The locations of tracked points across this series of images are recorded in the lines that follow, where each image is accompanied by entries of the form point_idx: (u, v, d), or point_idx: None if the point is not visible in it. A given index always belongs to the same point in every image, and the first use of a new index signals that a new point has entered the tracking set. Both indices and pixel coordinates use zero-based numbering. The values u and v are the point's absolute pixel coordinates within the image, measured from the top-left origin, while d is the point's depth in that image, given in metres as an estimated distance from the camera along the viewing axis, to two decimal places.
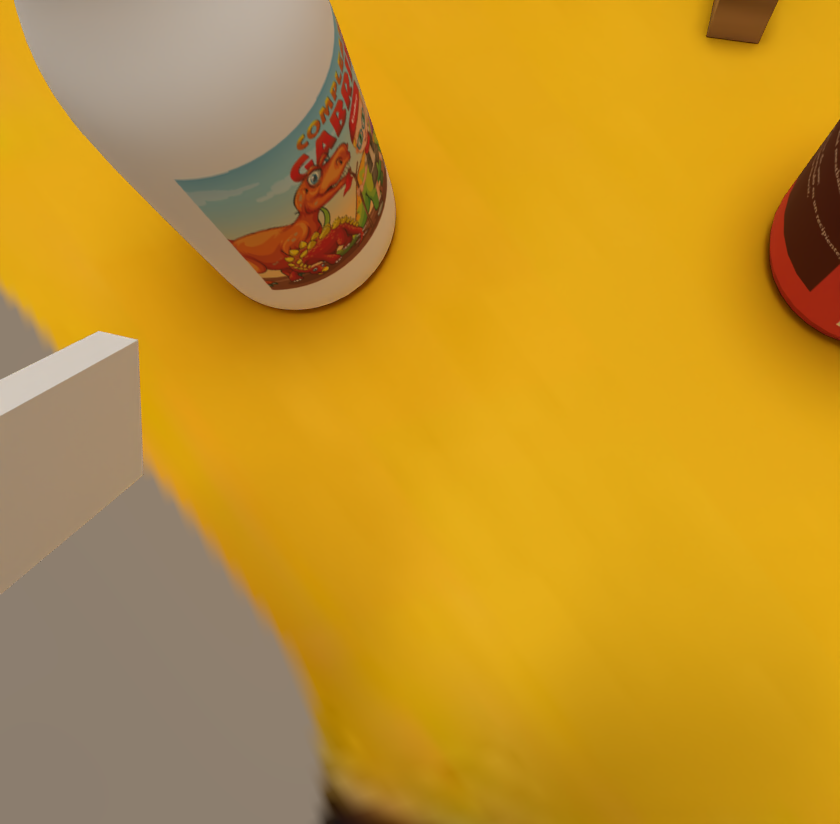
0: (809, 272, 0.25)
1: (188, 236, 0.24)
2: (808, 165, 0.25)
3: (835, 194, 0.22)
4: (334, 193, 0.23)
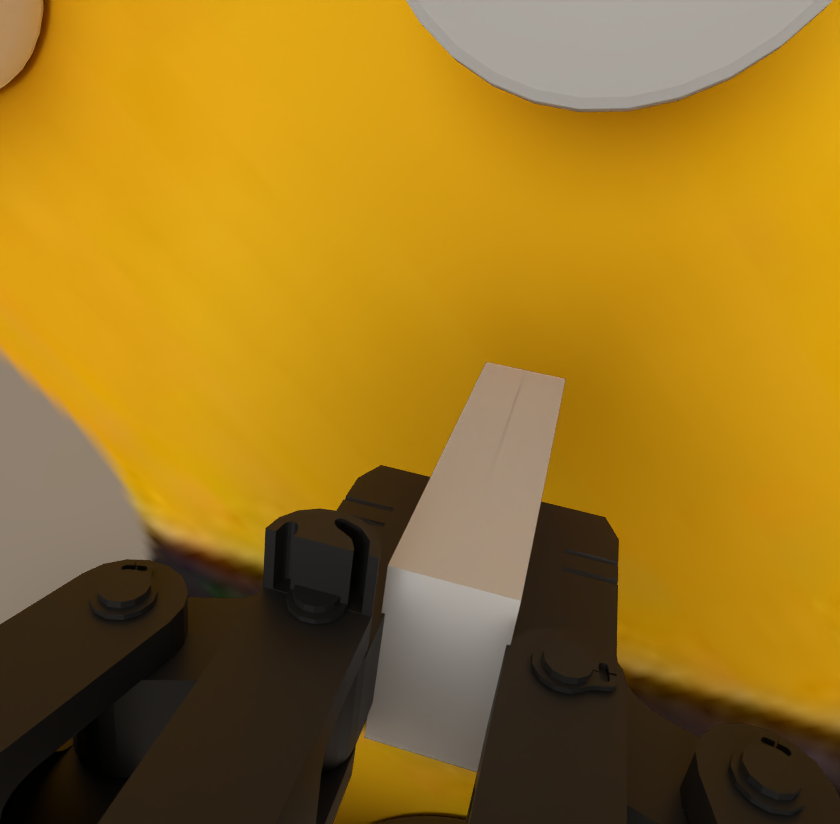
0: None
1: None
2: None
3: None
4: None
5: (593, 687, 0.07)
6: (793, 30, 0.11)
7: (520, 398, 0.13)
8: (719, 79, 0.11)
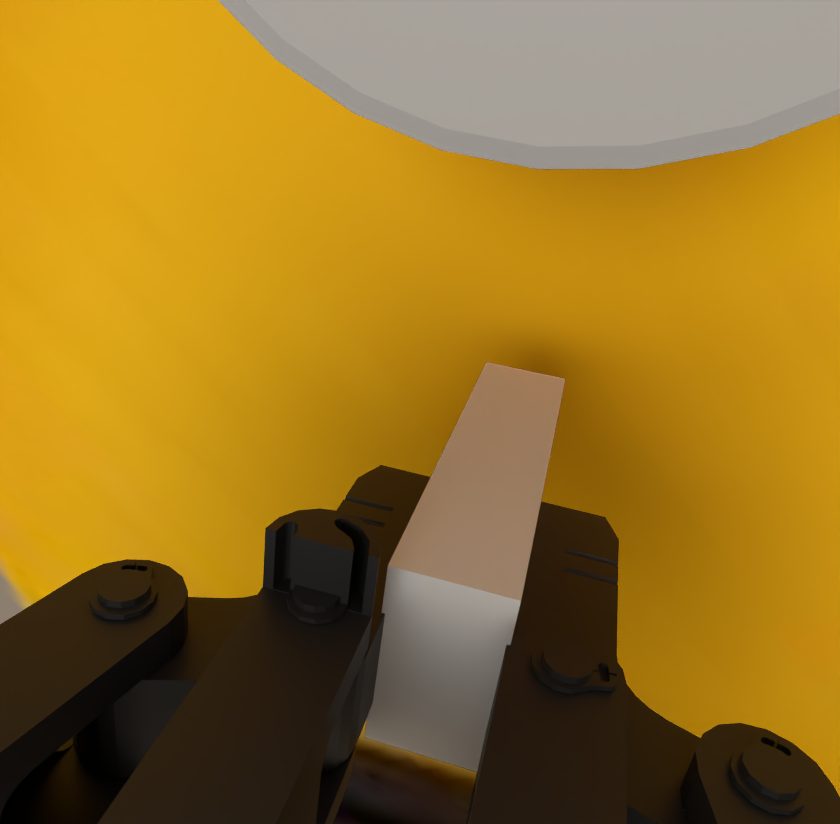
0: None
1: None
2: None
3: None
4: None
5: (592, 686, 0.07)
6: None
7: (520, 398, 0.13)
8: (839, 110, 0.05)
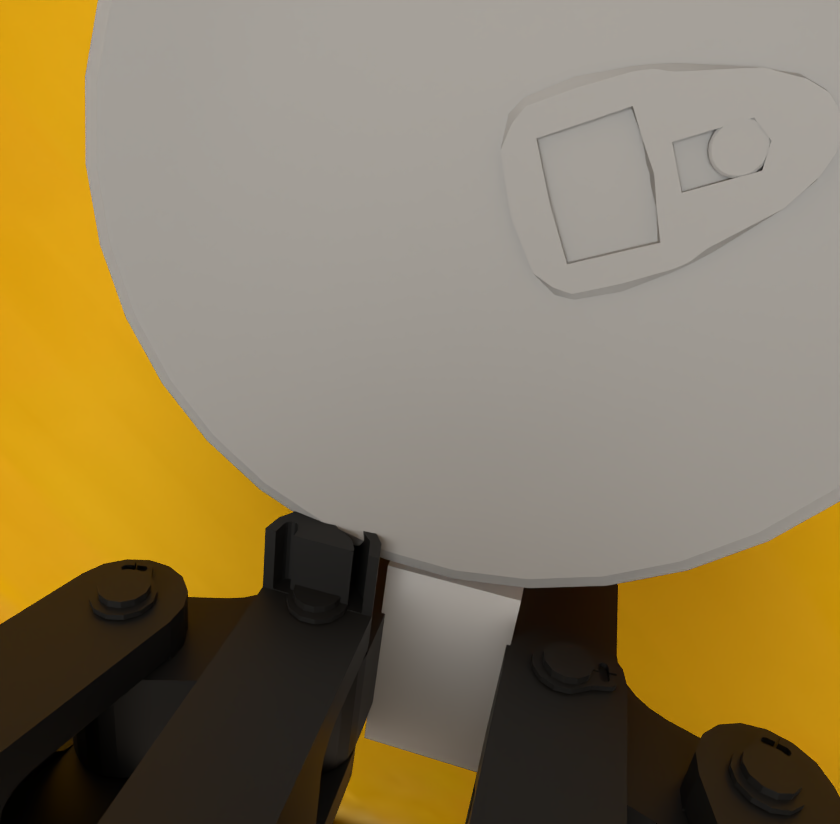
0: None
1: None
2: None
3: None
4: None
5: (593, 687, 0.07)
6: (784, 529, 0.07)
7: None
8: (667, 572, 0.07)
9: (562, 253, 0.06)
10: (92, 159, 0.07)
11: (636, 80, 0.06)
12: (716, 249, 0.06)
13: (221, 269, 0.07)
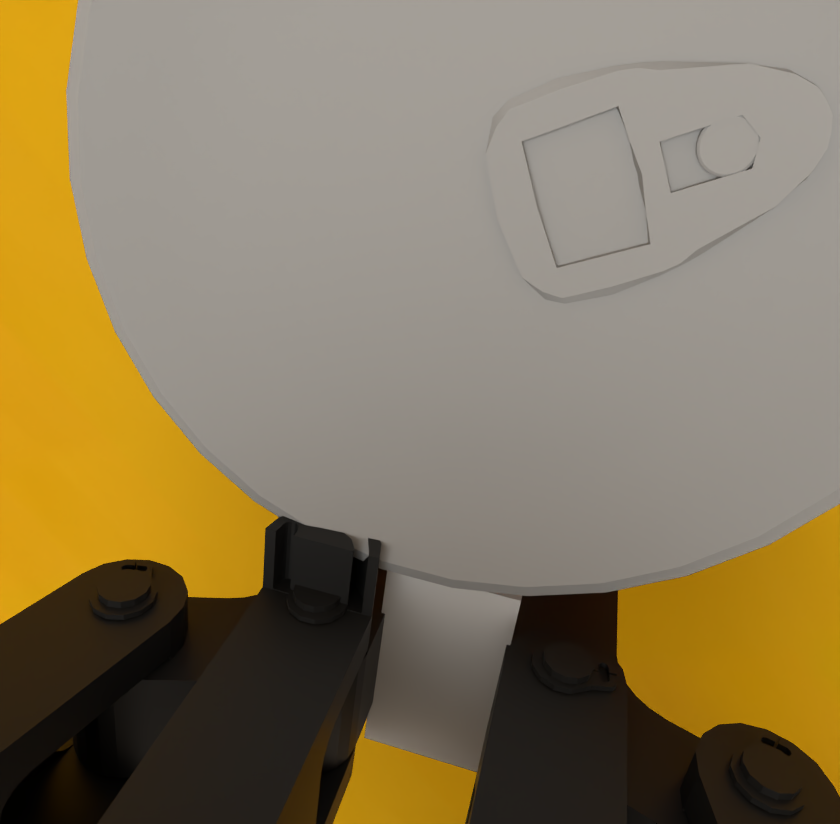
0: None
1: None
2: None
3: None
4: None
5: (594, 687, 0.07)
6: (785, 533, 0.06)
7: None
8: (667, 578, 0.07)
9: (551, 256, 0.06)
10: (76, 173, 0.07)
11: (620, 79, 0.06)
12: (707, 250, 0.06)
13: (208, 281, 0.07)
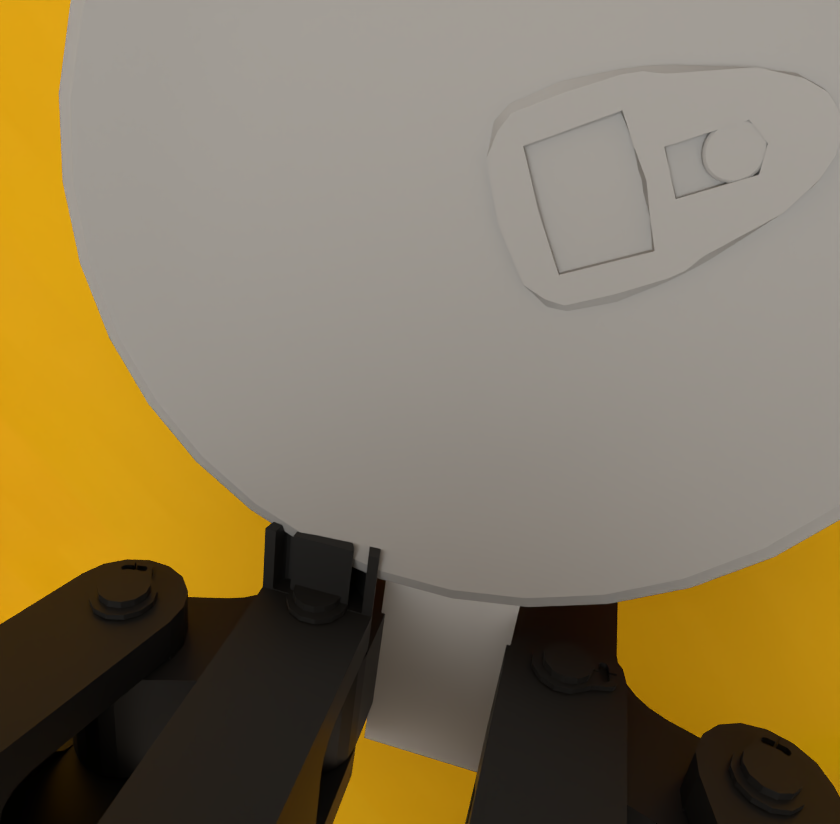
0: None
1: None
2: None
3: None
4: None
5: (593, 687, 0.07)
6: (791, 545, 0.06)
7: None
8: (670, 590, 0.07)
9: (553, 263, 0.06)
10: (69, 177, 0.07)
11: (624, 82, 0.06)
12: (712, 257, 0.06)
13: (204, 286, 0.07)
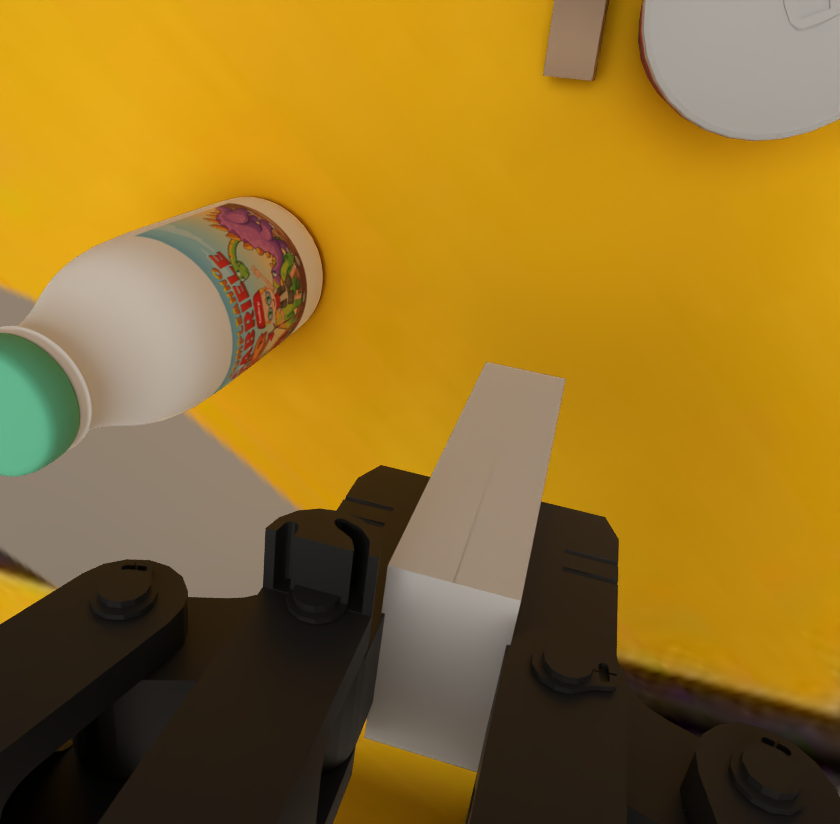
0: (652, 84, 0.30)
1: None
2: None
3: None
4: (264, 348, 0.35)
5: (592, 686, 0.07)
6: None
7: (521, 398, 0.13)
8: (831, 121, 0.23)
9: (800, 15, 0.22)
10: (649, 0, 0.22)
11: None
12: None
13: (682, 36, 0.23)
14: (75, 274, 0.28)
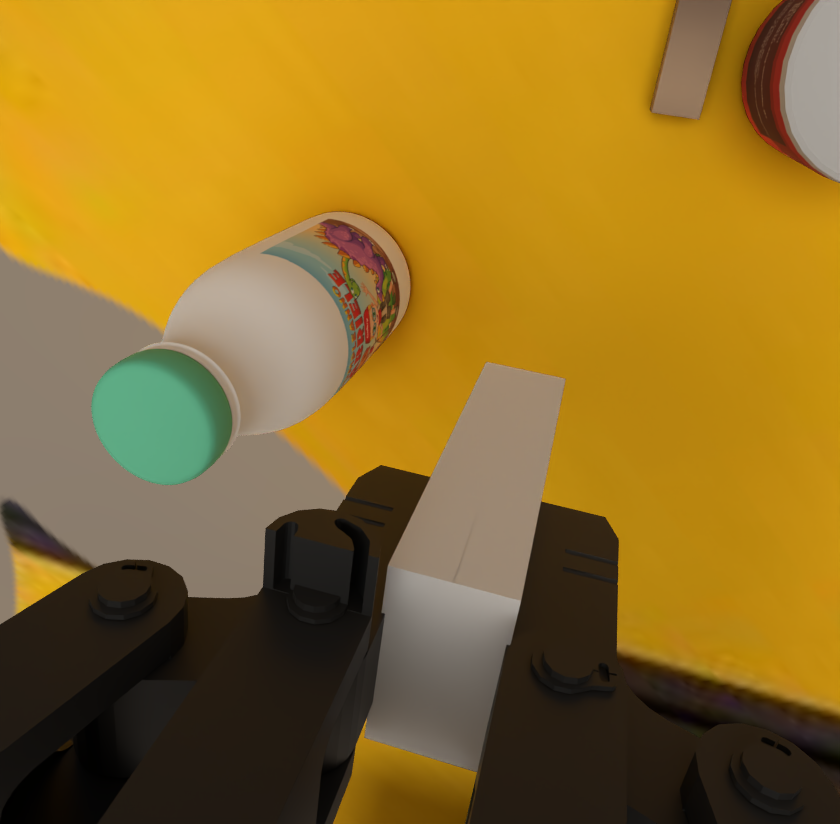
0: (757, 125, 0.32)
1: None
2: (765, 32, 0.30)
3: (761, 101, 0.28)
4: (364, 361, 0.36)
5: (593, 687, 0.07)
6: None
7: (521, 398, 0.13)
8: None
9: None
10: (793, 59, 0.24)
11: None
12: None
13: (819, 93, 0.24)
14: (214, 291, 0.29)
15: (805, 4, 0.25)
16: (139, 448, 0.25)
